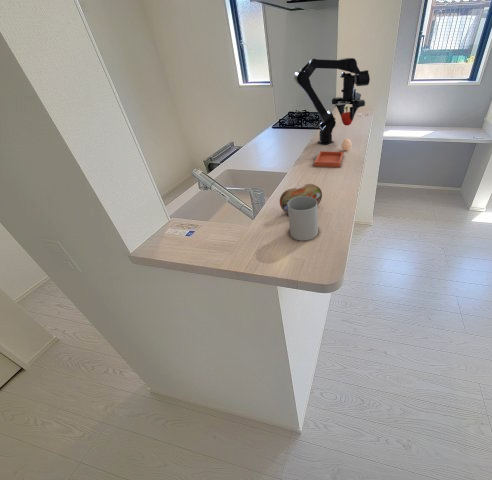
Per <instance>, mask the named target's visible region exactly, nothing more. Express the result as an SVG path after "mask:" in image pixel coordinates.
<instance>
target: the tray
mask: <svg viewBox="0 0 492 480" xmlns="http://www.w3.org/2000/svg"><path fill="white" fill-rule="evenodd" d="M343 157H344V151H327V150H325V151H324V150H320V151H319V153H318V154H317V156H316V158H315V160H314V162H313V163H314V167H318V168H319V167H324V168H340V167H341V164H342V161H343V159H344V158H343Z"/></svg>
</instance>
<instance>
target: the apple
mask: <svg viewBox="0 0 492 480" xmlns="http://www.w3.org/2000/svg"><path fill="white" fill-rule="evenodd" d="M348 108H349V106H348V105H347V106H345V107H344V110H345V111H344V113H342V115H340V117H341V119H340V120H341V122H342V124H343V126H350V125H352V123H353V121H354V119H353V120H351V118H350V111H348Z"/></svg>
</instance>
